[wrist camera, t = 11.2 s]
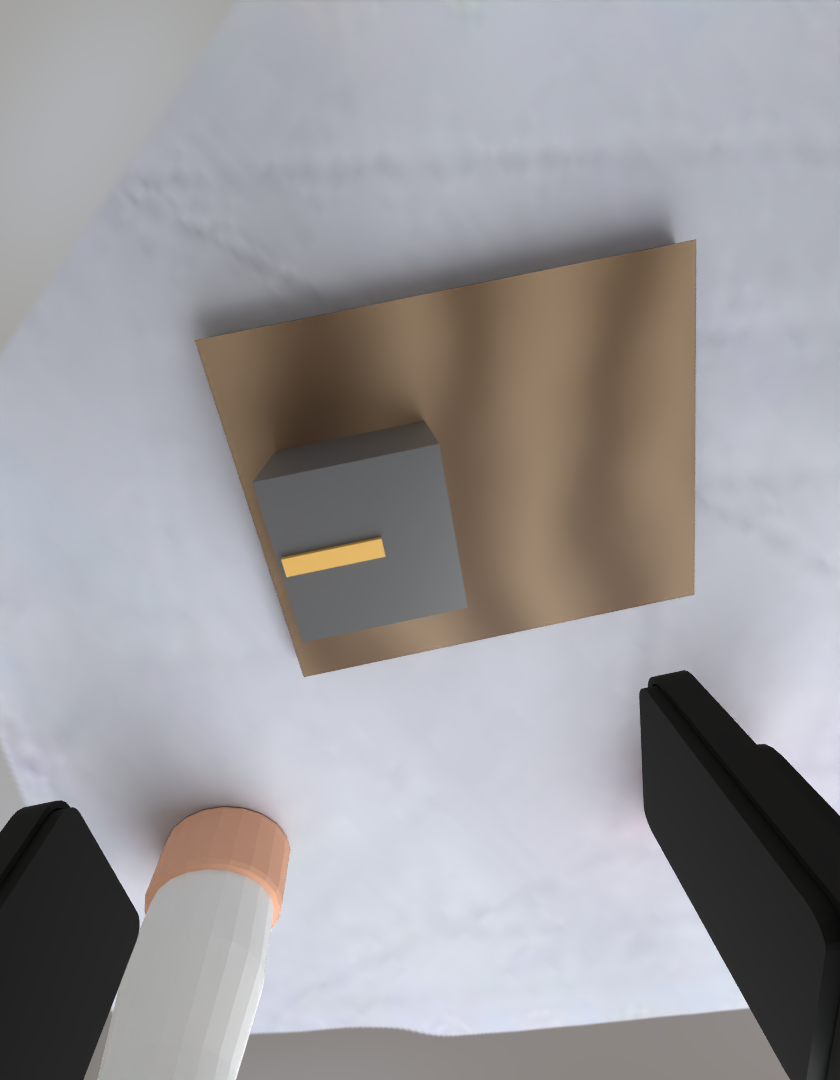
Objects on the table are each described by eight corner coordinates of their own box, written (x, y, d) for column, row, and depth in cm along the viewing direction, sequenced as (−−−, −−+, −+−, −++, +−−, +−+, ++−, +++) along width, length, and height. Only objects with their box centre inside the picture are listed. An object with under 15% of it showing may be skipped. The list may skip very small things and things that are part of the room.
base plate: (675, 245, 23) (696, 239, 21) (678, 581, 29) (694, 594, 27) (205, 339, 22) (194, 340, 21) (307, 659, 28) (303, 676, 27)
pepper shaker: (180, 795, 31) (-76, 1431, 13) (304, 819, 32) (228, 1419, 15) (154, 883, 33) (-94, 1527, 15) (272, 902, 35) (171, 1509, 17)
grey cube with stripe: (424, 420, 23) (439, 445, 18) (449, 556, 25) (468, 610, 20) (275, 451, 23) (251, 484, 18) (314, 584, 25) (302, 645, 20)
